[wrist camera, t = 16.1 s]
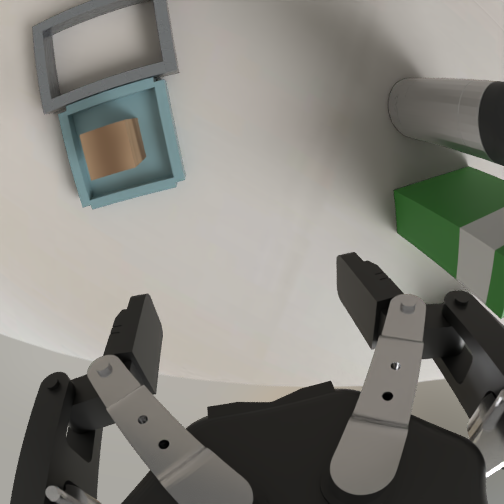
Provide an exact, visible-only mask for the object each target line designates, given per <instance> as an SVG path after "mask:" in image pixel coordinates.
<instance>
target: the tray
mask: <svg viewBox="0 0 504 504" xmlns="http://www.w3.org/2000/svg"><path fill="white" fill-rule="evenodd" d="M58 116H59V121H60V125H61V130H62V134H63V139H64V143H65V147H66V151H67V155H68V159H69V162H70V166H71V170H72V173H73V177H74V180H75V184H76V187H77V190H78V194H79V197H80V200H81V203H82V206H83V207H86V206H90V205H91V207H92V210H93V209H96V208H99V207H103V206H106V205H110V204H113V203H117V202H120V201H124V200H128V199H131V198H135V197H139V196H143V195H147V194H151V193H155V192H158V191H163V190H167V189H171V188H175V187H176V186H177V182H179V181H183V180H185V177H186V175H185V170H184V166H183V161H182V157H181V152H180V147H179V143H178V138H177V133H176V128H175V124H174V119H173V114H172V109H171V104H170V98H169V93H168V88H167V83H166V81H165V80H160V81H156V79H154V78H153V77H152V78H148V79H145V80H141V81H137V82H134V83H131V84H127V85H124V86H121V87H118V88H114V89H111V90H108V91H105V92H102V93H100V94H97V95H94V96H91V97H88V98H86V99H83V100H80V101H78V102H75V103H73V104H70V105H68V106H66V111H65V112H63V113H60V114H58ZM132 118H138V123H139V127H140V132H141V136H142V140H143V145H144V149H145V153H146V158H145V159H144V160H143V161H142V162H141V163H140V164H139V165H138V166H137V167H135V168H132V169H128V170H125V171H121V172H118V173H115V174H111V175H108V176H105V177H102V178H98V179H95V180H92V181H91V178H90V174H89V171H88V167H87V163H86V159H85V156H84V152H83V148H82V144H81V140H80V135H81V134H83V133H86V132H89V131H92V130H95V129H97V128H100V127H103V126H106V125H109V124H113V123H116V122H119V121H122V120H126V119H132Z"/></svg>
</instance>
